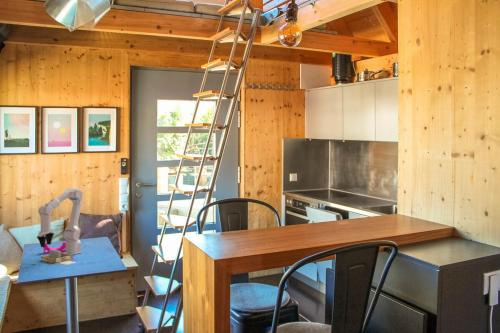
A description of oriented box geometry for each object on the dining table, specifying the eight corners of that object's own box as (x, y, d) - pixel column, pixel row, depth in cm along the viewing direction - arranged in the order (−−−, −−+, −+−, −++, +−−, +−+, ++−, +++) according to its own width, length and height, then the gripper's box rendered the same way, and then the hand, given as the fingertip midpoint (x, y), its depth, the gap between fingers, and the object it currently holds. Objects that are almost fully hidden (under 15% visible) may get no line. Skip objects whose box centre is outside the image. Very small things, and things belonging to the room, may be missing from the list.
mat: (71, 260, 284) (71, 260, 284) (79, 262, 280) (79, 261, 280) (58, 263, 277) (58, 262, 277) (66, 265, 273) (66, 264, 273)
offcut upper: (61, 254, 291) (61, 252, 291) (68, 256, 287) (68, 253, 287) (58, 255, 289) (58, 253, 289) (65, 256, 285) (65, 254, 285)
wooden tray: (59, 256, 295) (59, 252, 295) (72, 259, 287) (72, 255, 287) (41, 260, 284) (41, 256, 284) (54, 263, 276) (54, 259, 276)
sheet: (51, 258, 288) (51, 249, 287) (60, 260, 282) (60, 251, 282) (49, 259, 286) (49, 249, 286) (58, 261, 281) (58, 251, 281)
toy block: (67, 251, 313) (67, 240, 313) (67, 253, 307) (67, 242, 307) (43, 253, 307) (43, 242, 307) (43, 255, 301) (43, 244, 301)
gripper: (44, 222, 288) (45, 243, 289) (33, 226, 274) (33, 248, 274) (55, 222, 288) (56, 243, 288) (44, 226, 274) (44, 248, 274)
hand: (45, 245), depth 281 cm, fingers open, 7 cm apart
